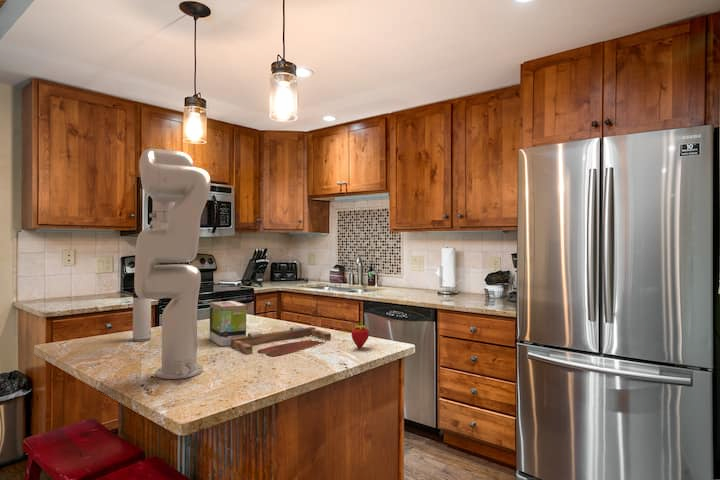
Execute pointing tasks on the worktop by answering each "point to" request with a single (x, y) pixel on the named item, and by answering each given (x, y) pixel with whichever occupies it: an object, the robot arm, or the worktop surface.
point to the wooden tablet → (288, 348)
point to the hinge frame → (275, 337)
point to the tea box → (227, 321)
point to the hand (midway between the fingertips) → (163, 264)
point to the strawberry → (360, 335)
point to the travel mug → (141, 319)
